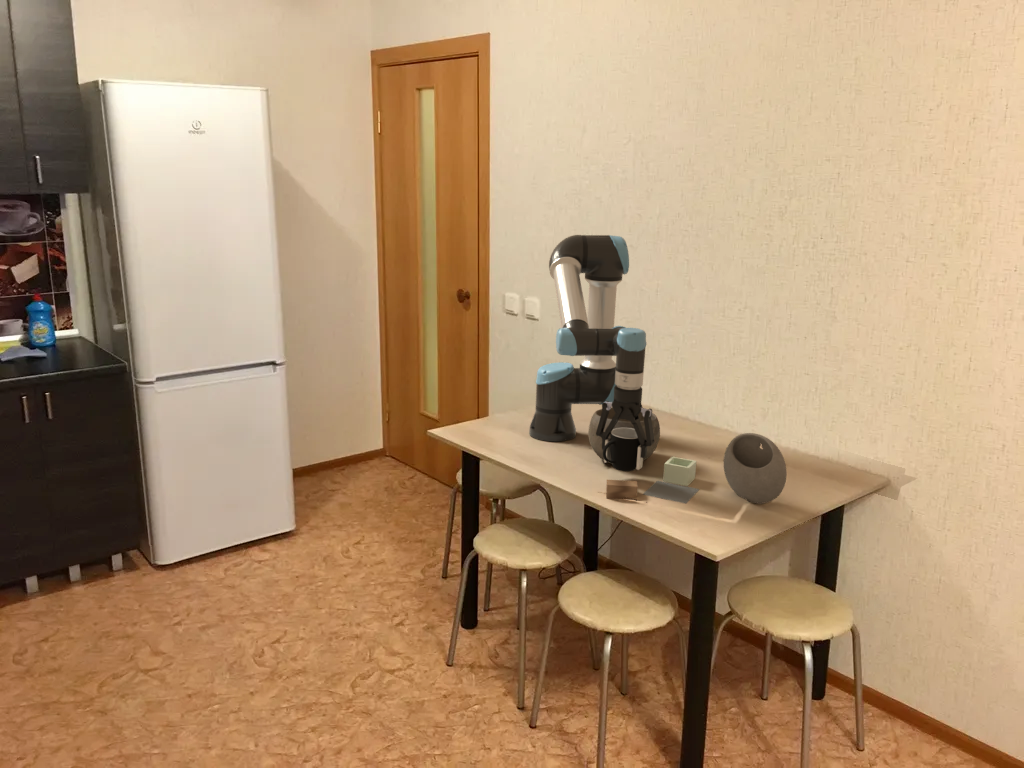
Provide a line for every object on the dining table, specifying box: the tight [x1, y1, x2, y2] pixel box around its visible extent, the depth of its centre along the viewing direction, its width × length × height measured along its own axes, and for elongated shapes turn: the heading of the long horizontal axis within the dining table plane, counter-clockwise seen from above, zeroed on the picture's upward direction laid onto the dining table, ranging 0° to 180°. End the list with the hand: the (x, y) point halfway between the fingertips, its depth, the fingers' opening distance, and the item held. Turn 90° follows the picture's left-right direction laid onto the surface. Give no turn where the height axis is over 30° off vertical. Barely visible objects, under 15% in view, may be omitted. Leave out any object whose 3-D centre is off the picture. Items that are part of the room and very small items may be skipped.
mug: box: [603, 428, 640, 472], centre depth 234 cm, size 12×9×10 cm
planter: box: [723, 432, 788, 504], centre depth 223 cm, size 18×7×19 cm, turn 42°
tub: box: [662, 456, 697, 487], centre depth 237 cm, size 7×7×6 cm
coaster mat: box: [642, 480, 700, 504], centre depth 229 cm, size 12×12×1 cm
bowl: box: [587, 407, 661, 461], centre depth 252 cm, size 21×21×15 cm
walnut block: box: [605, 479, 639, 501], centre depth 226 cm, size 8×4×4 cm, turn 85°
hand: (622, 464), depth 234 cm, fingers closed on mug, 9 cm apart
